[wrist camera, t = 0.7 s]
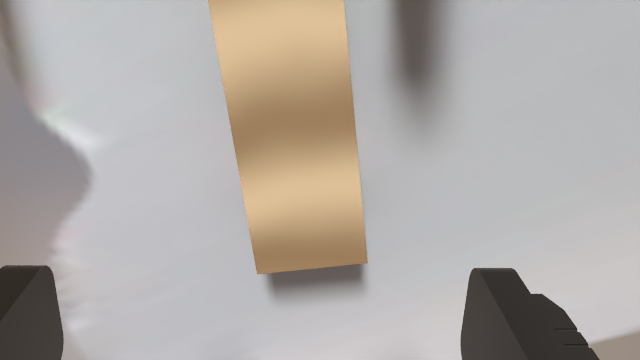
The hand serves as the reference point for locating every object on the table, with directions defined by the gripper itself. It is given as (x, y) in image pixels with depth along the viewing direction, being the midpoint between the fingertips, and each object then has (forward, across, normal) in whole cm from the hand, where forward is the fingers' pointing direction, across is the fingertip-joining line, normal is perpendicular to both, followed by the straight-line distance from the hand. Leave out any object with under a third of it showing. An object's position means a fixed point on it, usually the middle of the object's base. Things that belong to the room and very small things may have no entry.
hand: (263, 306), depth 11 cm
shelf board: (+17, -1, 0) cm, 17 cm away
